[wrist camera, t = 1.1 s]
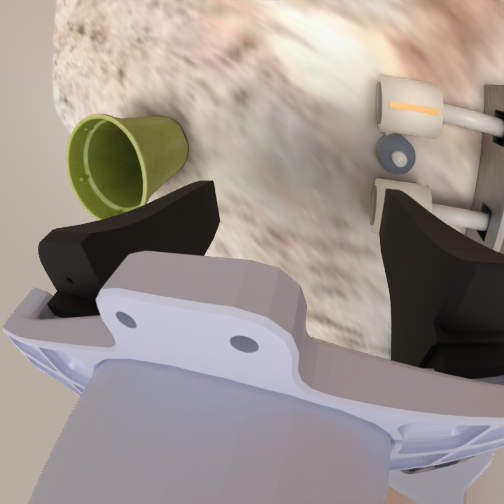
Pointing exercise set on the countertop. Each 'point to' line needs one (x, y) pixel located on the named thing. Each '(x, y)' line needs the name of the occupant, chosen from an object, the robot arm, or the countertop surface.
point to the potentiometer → (395, 153)
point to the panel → (491, 177)
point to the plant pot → (122, 161)
